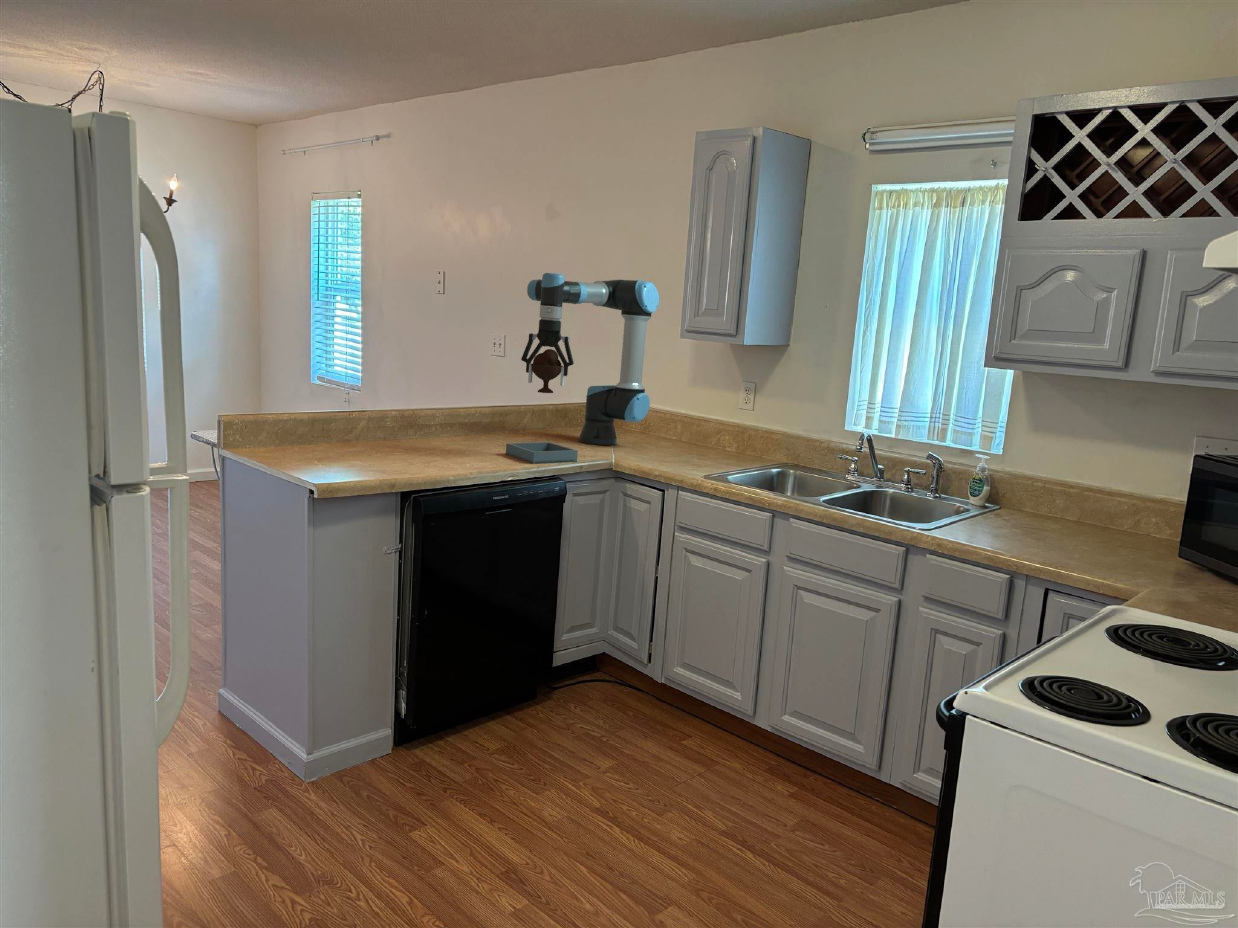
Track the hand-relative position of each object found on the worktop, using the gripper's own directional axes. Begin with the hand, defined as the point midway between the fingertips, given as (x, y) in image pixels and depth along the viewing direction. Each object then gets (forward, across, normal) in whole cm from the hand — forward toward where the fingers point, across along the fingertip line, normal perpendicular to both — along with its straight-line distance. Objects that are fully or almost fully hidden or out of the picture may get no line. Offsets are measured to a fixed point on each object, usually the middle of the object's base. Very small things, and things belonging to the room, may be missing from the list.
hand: (545, 384), depth 303 cm
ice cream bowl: (+3, 0, 0) cm, 3 cm away
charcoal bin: (+26, 0, 0) cm, 26 cm away
